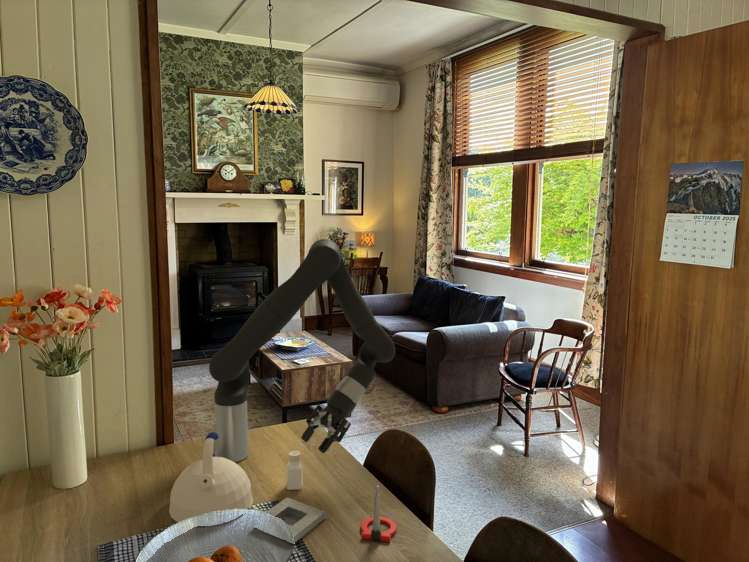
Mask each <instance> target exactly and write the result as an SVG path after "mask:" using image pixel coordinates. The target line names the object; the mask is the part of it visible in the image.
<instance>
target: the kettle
mask: <svg viewBox="0 0 749 562" xmlns="http://www.w3.org/2000/svg"><path fill="white" fill-rule="evenodd" d="M218 438H219V436H218V434H217V433H215V432H213V431H211V432H209V433H207V435H206V436H205V438H204V443H203V449H202V459H198V460H196V461H194V462H192V463H191V464H189V465H188V466H187V467H186V468H185V469H184V470H182V472H181V473H180V474H179V475H178V477H177V478H176V480H175V481H174V483H173V486H172V488H171V491H170V496H169V497H170V499H169V510H168V513H169V515H170V518H171V519H172V520H174V521H175V522H176V523H178V522H177V521H180V520H183V519H186V518H189V517H192V516H196V515H200V514H203V513H207V512H210V511H216V510H224V509H234V508H249V509H250V508H251V507H252V505H253V502H254V499H253V493H252V486H251V481H250V479H249V477H248V474H247V473H246V472H245V470H244V469H243V468H242V467H241V466H240V465H239V464H238V463H237V462H233V461H231V460H228V459H226V458H223V457H216V456H215V454H214V440H217V439H218Z"/></svg>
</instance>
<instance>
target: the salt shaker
mask: <svg viewBox="0 0 749 562" xmlns="http://www.w3.org/2000/svg"><path fill="white" fill-rule="evenodd" d="M301 455H302V453H301V451H300V450H292V451H289V453H288V463H287V464H286V488H287V489H286V490H288V491H291V490H292V491H294V490H295V491H297V490H302V488H303V482H304V481H303V478H304V476H303V473H304V472H303V462H301V460H302V458H301Z"/></svg>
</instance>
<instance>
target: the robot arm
mask: <svg viewBox="0 0 749 562" xmlns="http://www.w3.org/2000/svg"><path fill="white" fill-rule="evenodd" d="M341 251H342V250H341V249H340V247H339V246H338V244H337V243H336V242H334V241H333V240H331V239H327V238H321V239H318V240H316V241H315V242H313V244H311V246H310V247H309V249H308V252H307V255H306V256H305V258H304V259H303V260H302V262H301V264H300V265H299V266H298V268H297V269H296V270H295V272H294V273H293V274H292V275H291V276H290V277H289V278H288V279H287V280H286V281H285V282H283V283H281V284H280V285H279V286H278V287H276V288H275V289H273V290H272V292H270V293H269V294H267V297H265V298H264V300H263V301H262V302H261V303H260V304H259V305H258V306H257V308H255V310H254V311H253V313H251V315H250V316H249V317H248V319H247V320H246V321H245V323H244V324H243V325H242V327H241V328H240V330H239V331H238V332H237V333H236V334H235V335H234V336H233V337H232V338H231V339H230V340H229V341H228V342H227V343H226V344H225V345H224V346H222V347H221V348H220V349H219V350H218V351H217V352H216V353H214V354H213V356H211V358H210V362H209V365H208V370H209V374H210V376H211V377H212V379H214V381H216V382H217V387H216V389H215V391H214V399H213V400H214V419H215V420H214V422H215V423H214V424H213V426H212V432H215V433H217V434H218V436H219V438H218V439H217V440H214V444H213V453H214V454H215V457H223V458H226V459H228V460H231V461H233V462H235V463H237V462H241V461H243V460H245V459H246V458H247V457H249V436H248V435H249V432H248V430H249V429H248V428H249V427H248V392H249V386H250V359H251V358H252V357H253V356H254V354H255V353H257V352H258V350H260V349H261V348H262V347H264V346H265V345H266V344H267V343H269V342H270V341H271V340H272V339H273V338H275V337H276V335H278V333H280V331H282V329H284V328H285V326H286V325H287V324H289V322H290V321H292V319H293V318H294V317H295V315H296V314H297V313H298V312H299V311H300V310H301V308H302V307H303V306H304V305H305V303H306V301H307V300H308V299H309V297H310V296H311V295H312V294H313V293H314V292H315V291H316V290H317V289H318V288H320V286H322V285H323V284H324V283H325V282H326V281H328V284H329V285H330V287H331V288H332V290H333V293H334V294H335V296H336V300H337V301H338V303H339V306H340V308H341V311H342V313H343V315H344V317H345V319H346V320H347V321H348V324H349V325H350V327H351V329H352V330H353V332H354V334H356V336H357V337H359V338H361V339H362V340H363V341H364V342H363V343H362V346H361V347H360V349H359V351H358V354H357V356H356V357H355V361H354V363H353V365H352V367H351V368H350V369H349V370H348V372H347V373H346V374H345V376H344V378H342V380H340V382H339V383H338V385H337V386H336V388H334V390H333V391H332V393H331V395H330V396H329V397H328V398H327V400H326V407H322V405H320V404H317V405H316V407H315V408H314V409H313V411H312V412H311V413H310V415H309V416H308V417H307V418H306V419H305V420H306V421H305V422H306V423H307V427H306V429H305V431H304V432H303V433H302V435H301V440H302V441H304V442H305V443H308V442H309V440H310V439H311V438H312V437H313V435H314V433H315V431H316V430H318V429H319V428H320V429H321V428H323V427H324V428H326V430H327V435H326V437H325V438H324V439H323V440H322V442H321V443H320V445H319V446H318V448H317V449H318V451H319V452H320V453H322V454H325V453H326V452H327V451H328V450H329V449H330V447H331V446H332V444H333V443H335V442H336V443H341V441H342V440H343V438H344V437H345V435H346V434H347V432H348V430H349V428H350V426H352V424H351V422H350V421H349V420H348V419H346V418H350V416H351V414H352V413H353V411H354V410H355V408H356V407H357V406H358V405H359V402H360V401H362V398H363V396H364V395H365V393H366V391H367V390H368V388H369V387H370V385H371V384H372V382H373V380H374V379H375V377H376V372H375V370H374V368H375V367H376V364H377V363H383V364H384V363H385V364H386V363H389V362H391V361H392V360H393V359H394V357H395V356H396V347H395V343H394V341H393V339H392V337H390V335H389V333H387V331H385V329H384V328H383V327H382V326H381V325H380V324H379V323H378V321H377V319H376V318H375V315H374V314H373V313H372V311H371V309H370V308H369V306H368V304H367V302H366V300H365V299H364V298H363V296H362V294H361V293H360V291H359V289H358V288H357V286H356V284H355V282H354V280H353V279H352V277H351V275H350V273H349V271H348V269H347V266H346V263H345V260H344V257H343V256H342V252H341ZM313 418H314V419H313Z"/></svg>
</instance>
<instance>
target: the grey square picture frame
mask: <svg viewBox="0 0 749 562" xmlns="http://www.w3.org/2000/svg"><path fill="white" fill-rule="evenodd" d="M265 512H266V513H269V514H271V515H272V516H275V517H278V518H281V519H284V521H285V522H286V523H287V525H288V526H289V528H290V529H291V531H292V533H293V536H294V540H295V542H297V541H298V540H299V539H301V538H302V539H303V538H305V537H306V536H307V535H309V533H311V532H313V530H315V529H316V528H317V527H318V526H320V525H321V524H322V523H323V522H325V520H327V517H326V515H327V512H326V511H325V510H322V509H319V508H318V507H314V506H311V505H309V504H307V503H303V502H301V501H298V500H296V499H293V498H291V497H290V498H289V497H285V498H284V499H282V500H281V501H280V502H278V503H277V504H275V505H274V506H272V507H271V508H270V509H268V510H267V511H265ZM285 515H286V516H285ZM285 518H286V519H285ZM302 539H301V540H302ZM298 542H299V541H298ZM298 542H297V543H298Z"/></svg>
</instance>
